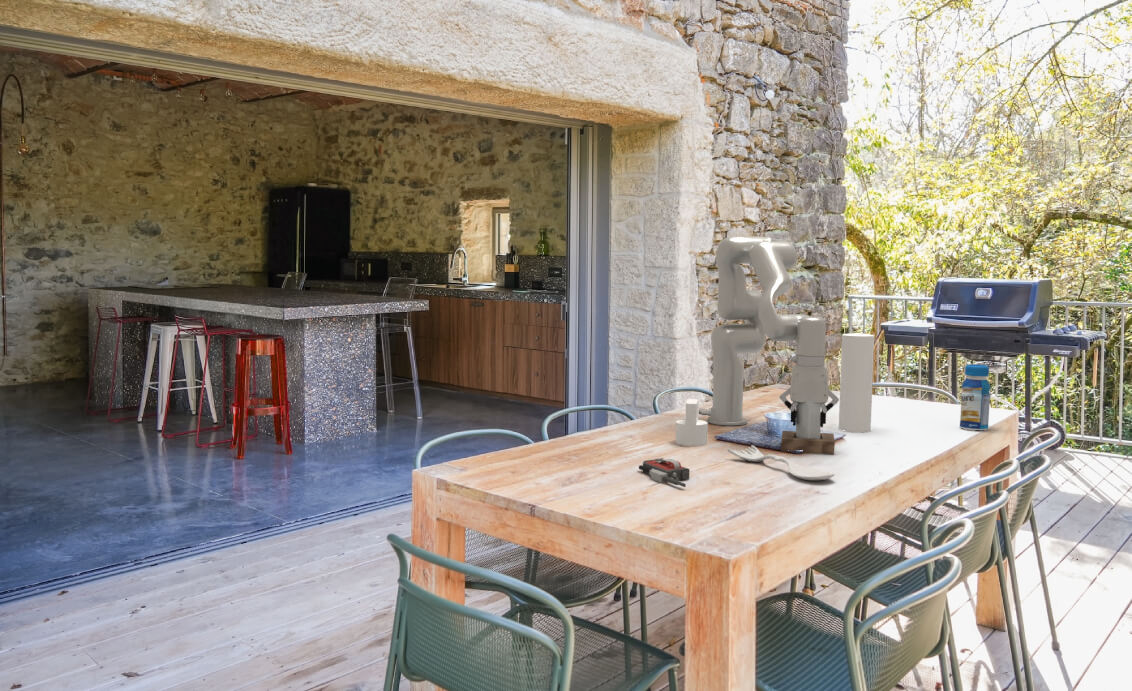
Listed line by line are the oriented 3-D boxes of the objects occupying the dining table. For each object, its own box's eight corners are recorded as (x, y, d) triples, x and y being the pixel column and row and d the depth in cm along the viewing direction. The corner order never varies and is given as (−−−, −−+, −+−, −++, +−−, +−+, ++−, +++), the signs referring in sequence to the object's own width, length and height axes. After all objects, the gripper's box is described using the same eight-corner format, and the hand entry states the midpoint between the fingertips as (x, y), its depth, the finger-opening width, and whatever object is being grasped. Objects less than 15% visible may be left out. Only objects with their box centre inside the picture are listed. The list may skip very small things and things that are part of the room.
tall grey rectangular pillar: (874, 432, 269) (878, 334, 266) (843, 432, 269) (847, 334, 266) (864, 427, 278) (868, 332, 275) (834, 426, 278) (838, 331, 275)
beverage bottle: (993, 431, 272) (997, 367, 270) (966, 431, 272) (969, 367, 270) (981, 426, 281) (984, 364, 279) (954, 426, 281) (957, 363, 279)
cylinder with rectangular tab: (676, 439, 257) (677, 398, 256) (707, 440, 256) (708, 399, 254) (674, 445, 249) (675, 403, 247) (706, 446, 247) (707, 404, 246)
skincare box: (821, 441, 243) (822, 398, 242) (807, 442, 242) (808, 399, 241) (807, 437, 249) (809, 395, 248) (794, 438, 248) (795, 395, 246)
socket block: (780, 451, 242) (781, 438, 241) (782, 442, 253) (782, 430, 253) (834, 454, 238) (834, 441, 238) (833, 445, 250) (833, 433, 249)
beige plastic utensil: (752, 456, 237) (752, 443, 236) (842, 483, 209) (843, 468, 208) (725, 459, 232) (726, 446, 232) (814, 487, 204) (814, 473, 204)
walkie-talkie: (631, 473, 217) (680, 492, 200) (631, 455, 217) (681, 473, 199) (660, 469, 221) (711, 487, 204) (660, 452, 221) (711, 468, 204)
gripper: (777, 361, 242) (775, 426, 244) (843, 364, 237) (841, 430, 239) (778, 359, 249) (776, 421, 251) (842, 361, 245) (840, 425, 246)
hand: (807, 425), depth 245 cm, fingers closed on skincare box, 6 cm apart
